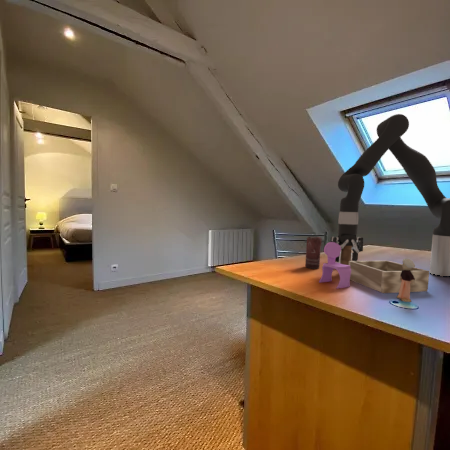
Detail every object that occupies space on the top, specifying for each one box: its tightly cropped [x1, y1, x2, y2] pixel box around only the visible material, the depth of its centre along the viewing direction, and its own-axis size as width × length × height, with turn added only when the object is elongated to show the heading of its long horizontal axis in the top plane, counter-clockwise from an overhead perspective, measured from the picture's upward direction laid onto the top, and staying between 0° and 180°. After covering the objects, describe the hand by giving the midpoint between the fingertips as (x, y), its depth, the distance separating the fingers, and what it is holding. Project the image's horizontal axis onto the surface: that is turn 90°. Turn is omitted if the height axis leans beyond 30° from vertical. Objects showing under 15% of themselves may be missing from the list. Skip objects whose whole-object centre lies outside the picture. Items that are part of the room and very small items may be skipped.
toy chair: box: [318, 241, 351, 289], centre depth 101 cm, size 8×9×15 cm
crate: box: [349, 260, 430, 294], centre depth 104 cm, size 18×18×7 cm
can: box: [304, 236, 323, 270], centre depth 129 cm, size 6×6×14 cm
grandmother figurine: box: [396, 258, 416, 303], centre depth 86 cm, size 8×4×13 cm, turn 5°
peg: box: [340, 246, 353, 265], centre depth 119 cm, size 4×4×12 cm
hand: (345, 261), depth 119 cm, fingers open, 8 cm apart
